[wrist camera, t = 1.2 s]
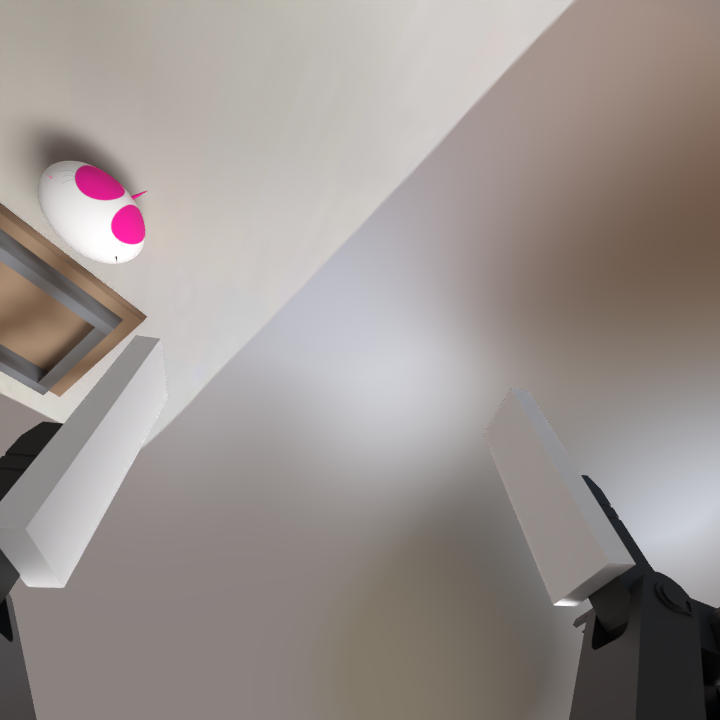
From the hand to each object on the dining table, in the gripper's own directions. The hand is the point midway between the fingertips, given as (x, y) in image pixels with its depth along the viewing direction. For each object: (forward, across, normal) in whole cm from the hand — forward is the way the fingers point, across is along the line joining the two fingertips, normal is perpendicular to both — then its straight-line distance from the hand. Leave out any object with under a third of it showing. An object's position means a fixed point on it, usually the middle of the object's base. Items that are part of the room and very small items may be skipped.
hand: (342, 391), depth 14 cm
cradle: (+23, -29, -14) cm, 40 cm away
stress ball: (+24, -18, -2) cm, 30 cm away
